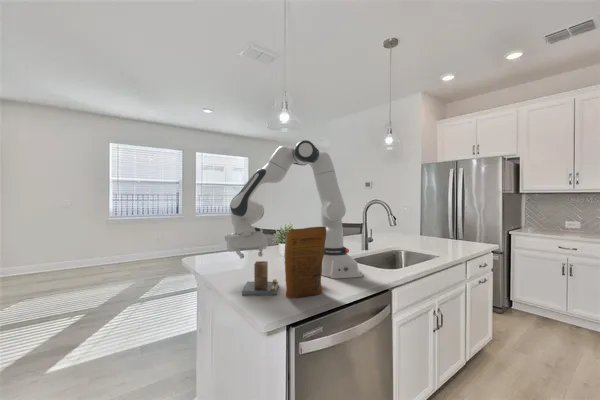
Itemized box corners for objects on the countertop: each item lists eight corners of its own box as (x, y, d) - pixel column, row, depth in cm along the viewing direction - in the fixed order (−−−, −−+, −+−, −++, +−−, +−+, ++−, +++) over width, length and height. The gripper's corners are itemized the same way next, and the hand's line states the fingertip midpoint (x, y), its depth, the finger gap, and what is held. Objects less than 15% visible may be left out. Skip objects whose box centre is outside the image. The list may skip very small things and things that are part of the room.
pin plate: (278, 285, 124) (278, 273, 124) (276, 295, 112) (276, 281, 112) (247, 285, 124) (247, 273, 124) (241, 295, 112) (241, 281, 112)
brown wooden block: (267, 284, 121) (267, 261, 121) (266, 287, 116) (266, 264, 116) (256, 284, 121) (256, 261, 121) (254, 287, 116) (254, 264, 116)
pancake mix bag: (330, 294, 113) (330, 226, 112) (286, 301, 106) (286, 229, 105) (322, 289, 119) (322, 225, 119) (280, 295, 112) (280, 227, 111)
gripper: (225, 230, 129) (232, 255, 121) (264, 228, 141) (273, 251, 133) (222, 238, 133) (228, 262, 125) (260, 236, 145) (268, 258, 137)
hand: (251, 256), depth 129 cm, fingers open, 8 cm apart
